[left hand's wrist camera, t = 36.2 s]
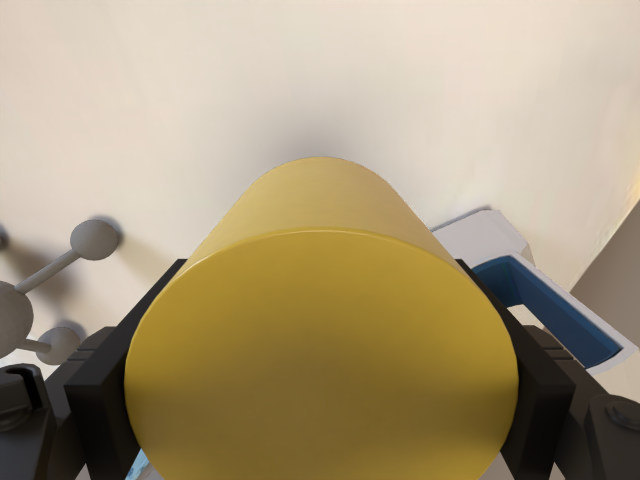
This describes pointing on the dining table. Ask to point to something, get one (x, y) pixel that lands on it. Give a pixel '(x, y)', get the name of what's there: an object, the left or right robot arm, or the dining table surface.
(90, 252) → the molecular model
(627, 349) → the electronic device
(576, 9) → the dining table surface
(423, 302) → the canister
